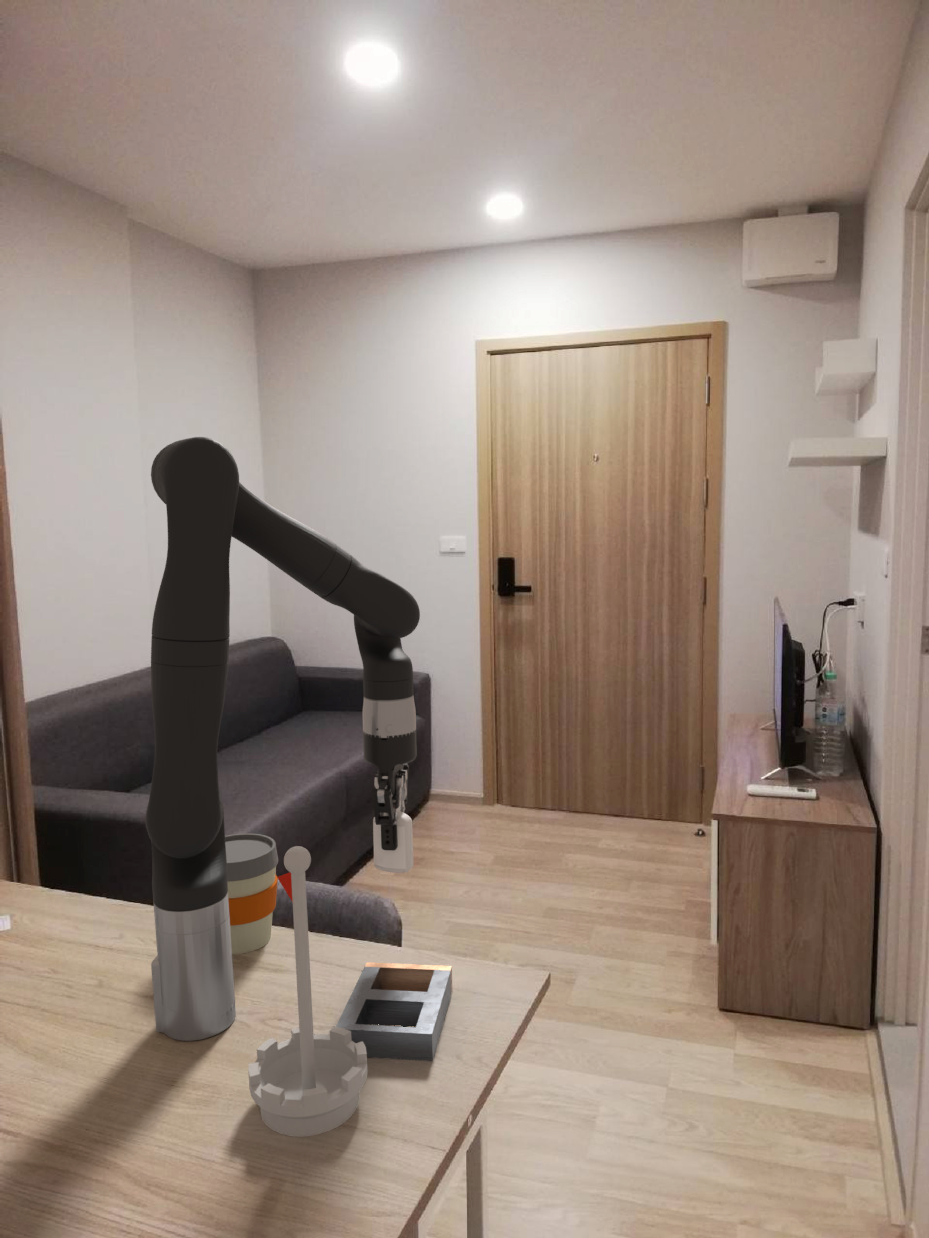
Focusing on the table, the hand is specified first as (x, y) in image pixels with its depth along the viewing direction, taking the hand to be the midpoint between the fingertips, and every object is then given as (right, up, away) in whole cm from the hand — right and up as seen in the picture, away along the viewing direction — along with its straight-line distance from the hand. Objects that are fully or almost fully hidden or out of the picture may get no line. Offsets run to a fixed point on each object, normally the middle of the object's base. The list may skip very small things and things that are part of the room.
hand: (392, 843), depth 128 cm
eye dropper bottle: (0, -4, +1) cm, 4 cm away
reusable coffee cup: (-24, -18, +11) cm, 32 cm away
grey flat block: (+2, -20, -12) cm, 24 cm away
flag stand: (-7, -22, -28) cm, 36 cm away
